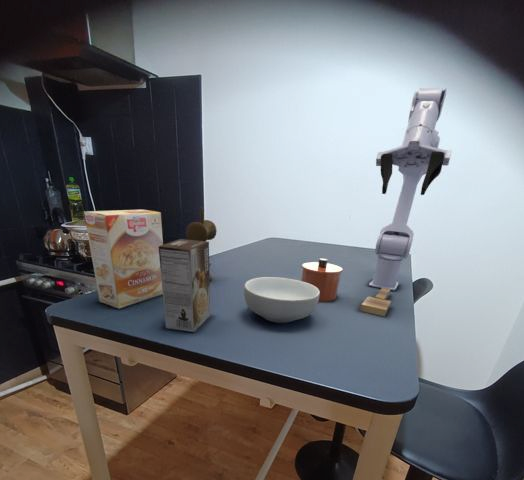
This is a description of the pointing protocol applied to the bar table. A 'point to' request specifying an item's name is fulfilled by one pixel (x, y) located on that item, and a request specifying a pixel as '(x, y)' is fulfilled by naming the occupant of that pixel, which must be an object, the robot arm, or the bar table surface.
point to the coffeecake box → (125, 255)
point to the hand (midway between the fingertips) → (402, 191)
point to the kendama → (201, 230)
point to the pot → (323, 284)
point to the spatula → (377, 303)
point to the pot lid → (322, 267)
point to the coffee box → (185, 283)
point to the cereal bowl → (281, 298)
